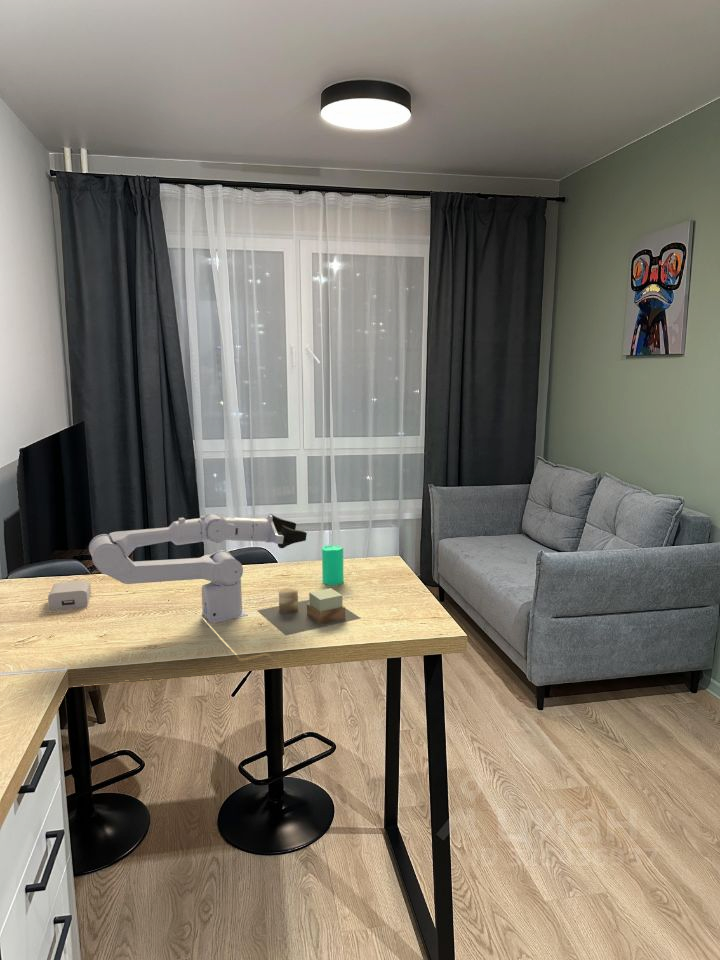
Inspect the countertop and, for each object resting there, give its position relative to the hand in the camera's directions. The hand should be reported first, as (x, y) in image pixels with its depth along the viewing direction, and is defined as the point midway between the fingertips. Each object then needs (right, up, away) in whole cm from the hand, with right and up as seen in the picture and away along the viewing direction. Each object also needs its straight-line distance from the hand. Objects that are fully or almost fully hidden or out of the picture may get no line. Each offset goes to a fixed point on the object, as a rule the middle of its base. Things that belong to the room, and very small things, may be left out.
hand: (300, 531), depth 172 cm
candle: (+8, -16, +18) cm, 26 cm away
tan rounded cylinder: (-3, -20, -4) cm, 20 cm away
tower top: (+7, -17, -9) cm, 21 cm away
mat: (+2, -21, -6) cm, 22 cm away
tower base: (+7, -20, -8) cm, 23 cm away
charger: (-62, -19, +7) cm, 65 cm away
